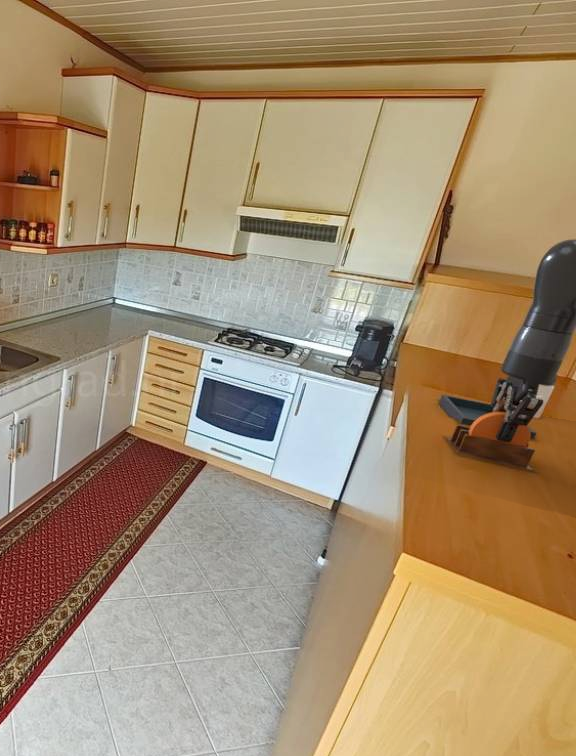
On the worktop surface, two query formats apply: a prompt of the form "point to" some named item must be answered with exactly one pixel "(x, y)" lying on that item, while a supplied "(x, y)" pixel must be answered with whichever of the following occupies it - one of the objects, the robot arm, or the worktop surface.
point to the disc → (490, 426)
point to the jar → (544, 395)
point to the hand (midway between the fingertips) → (498, 435)
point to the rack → (490, 449)
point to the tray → (467, 410)
